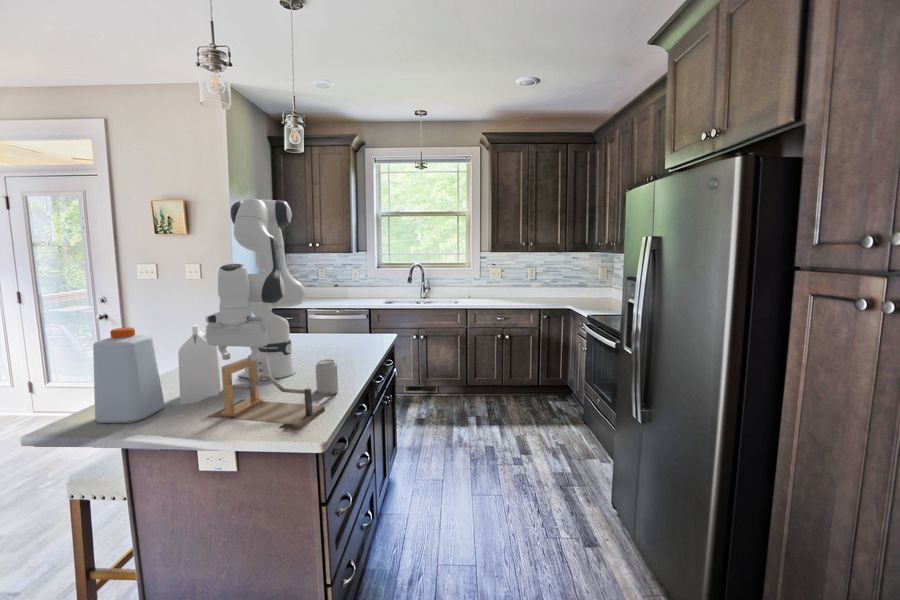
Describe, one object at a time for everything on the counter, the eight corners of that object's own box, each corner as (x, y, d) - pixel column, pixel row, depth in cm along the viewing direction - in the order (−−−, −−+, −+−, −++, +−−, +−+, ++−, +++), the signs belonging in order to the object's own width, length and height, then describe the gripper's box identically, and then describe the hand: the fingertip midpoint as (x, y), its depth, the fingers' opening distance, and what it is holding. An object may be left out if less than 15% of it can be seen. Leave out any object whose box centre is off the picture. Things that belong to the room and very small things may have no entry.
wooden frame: (221, 416, 131) (217, 366, 129) (250, 401, 144) (247, 355, 142) (235, 417, 130) (231, 367, 128) (263, 402, 142) (260, 356, 140)
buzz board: (208, 421, 131) (204, 379, 129) (242, 403, 145) (239, 365, 144) (298, 429, 124) (295, 385, 122) (324, 410, 138) (322, 370, 137)
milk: (186, 393, 156) (179, 323, 153) (221, 389, 161) (216, 321, 158) (180, 404, 145) (173, 329, 142) (218, 399, 150) (212, 326, 147)
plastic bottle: (127, 406, 145) (118, 324, 141) (170, 406, 144) (163, 324, 141) (88, 424, 130) (77, 334, 126) (136, 424, 129) (127, 333, 126)
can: (332, 397, 151) (330, 364, 149) (313, 396, 152) (311, 363, 151) (341, 390, 158) (340, 358, 157) (323, 389, 160) (321, 357, 158)
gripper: (271, 315, 134) (274, 358, 135) (216, 314, 138) (219, 356, 140) (258, 318, 127) (261, 363, 129) (200, 317, 132) (204, 361, 134)
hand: (239, 359), depth 134 cm, fingers open, 8 cm apart
